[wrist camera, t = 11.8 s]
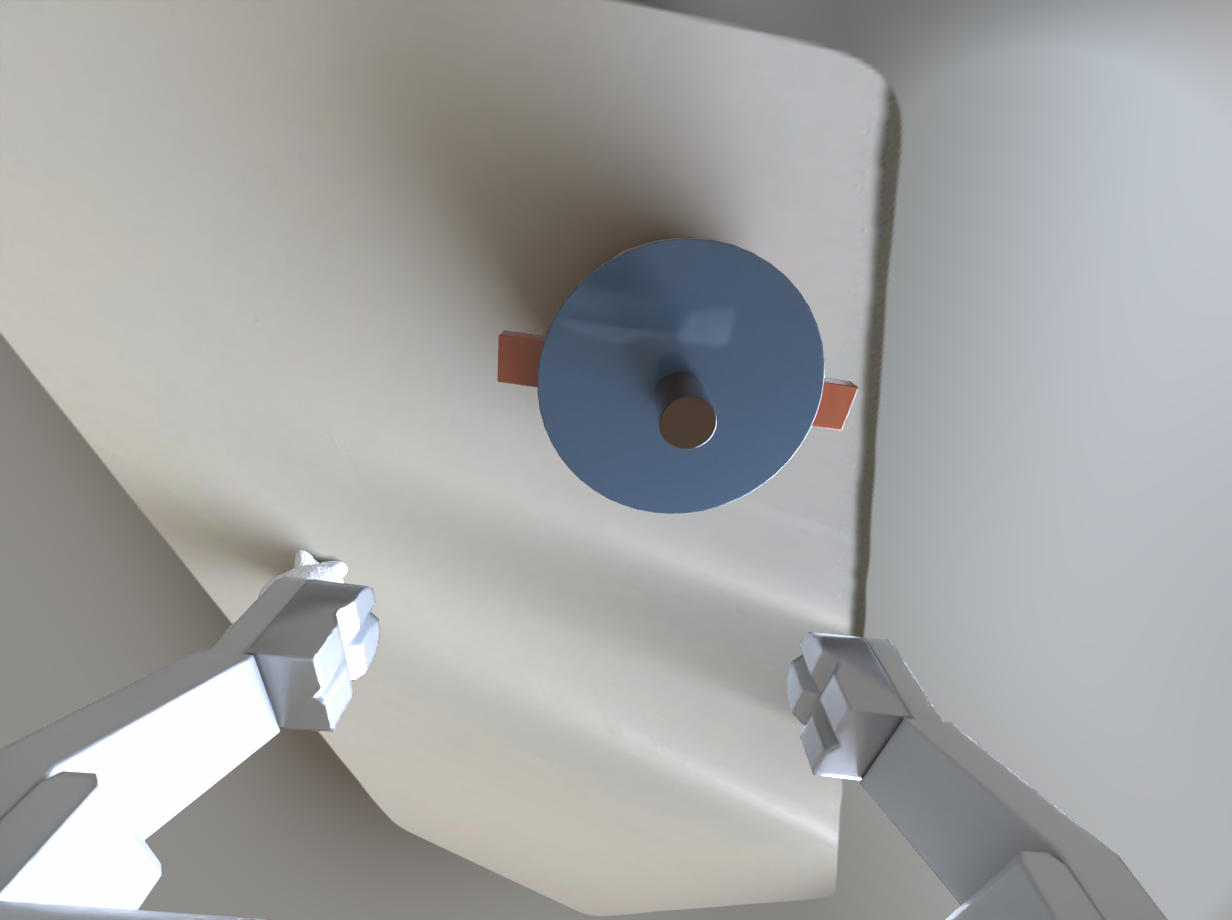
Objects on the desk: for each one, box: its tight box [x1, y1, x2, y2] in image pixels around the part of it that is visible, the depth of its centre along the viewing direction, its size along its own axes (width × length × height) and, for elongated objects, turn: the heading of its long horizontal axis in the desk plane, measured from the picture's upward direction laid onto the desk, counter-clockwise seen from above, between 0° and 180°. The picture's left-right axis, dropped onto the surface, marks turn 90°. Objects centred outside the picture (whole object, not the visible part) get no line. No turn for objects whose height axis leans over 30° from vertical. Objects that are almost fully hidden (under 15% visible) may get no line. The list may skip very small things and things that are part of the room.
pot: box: [498, 238, 858, 430], centre depth 27 cm, size 13×18×8 cm
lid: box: [538, 238, 824, 514], centre depth 21 cm, size 14×14×5 cm
